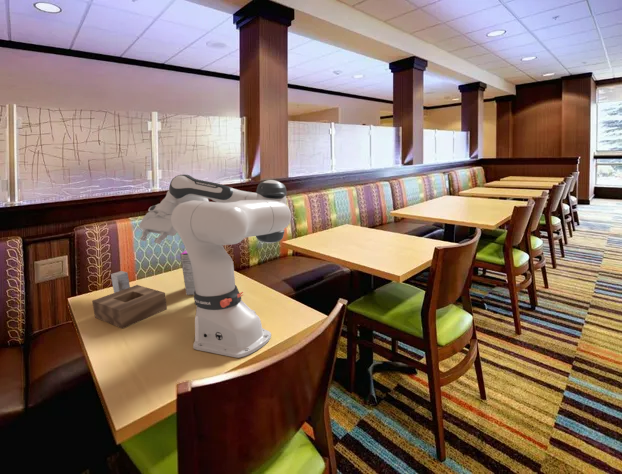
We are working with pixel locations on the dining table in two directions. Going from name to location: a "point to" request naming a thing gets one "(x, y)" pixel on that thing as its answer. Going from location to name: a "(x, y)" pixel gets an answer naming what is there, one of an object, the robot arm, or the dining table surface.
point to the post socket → (129, 305)
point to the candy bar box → (187, 273)
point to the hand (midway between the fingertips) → (149, 241)
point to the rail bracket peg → (120, 281)
